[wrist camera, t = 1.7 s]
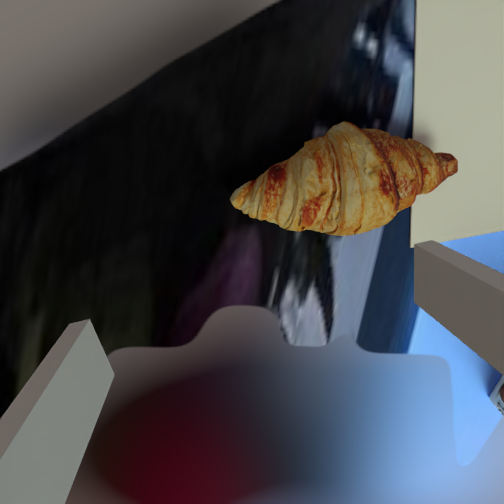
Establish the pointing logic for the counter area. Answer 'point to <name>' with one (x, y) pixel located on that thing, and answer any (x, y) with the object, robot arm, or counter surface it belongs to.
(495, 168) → the mat
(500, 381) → the juice carton
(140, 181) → the counter surface
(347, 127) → the croissant
